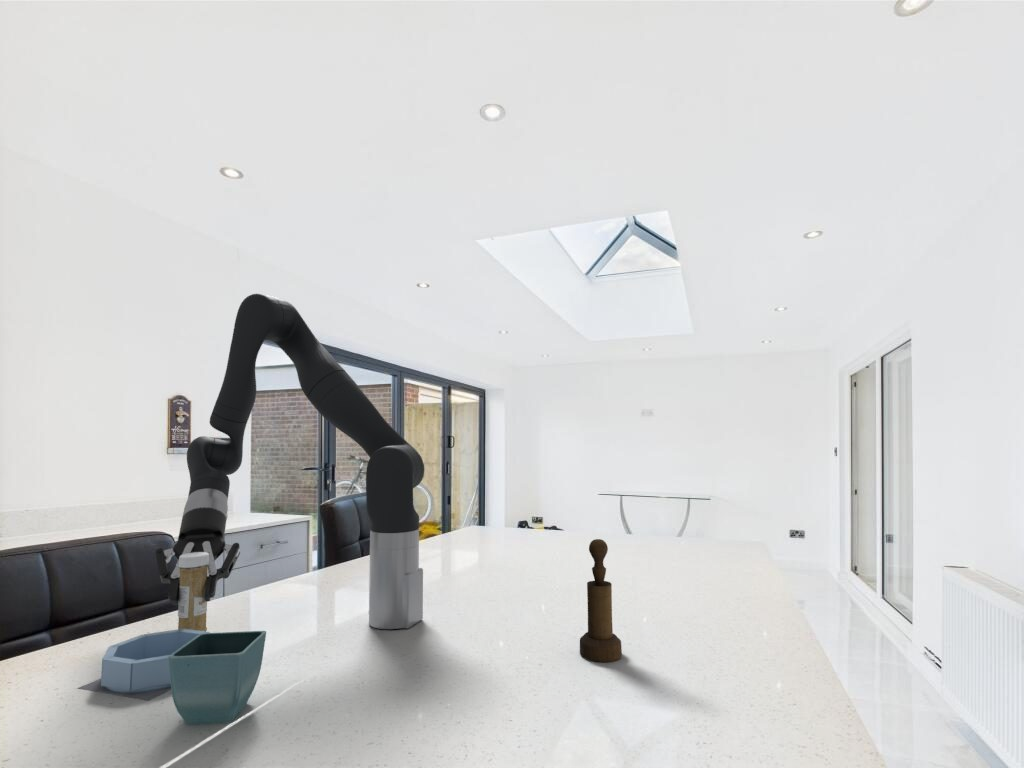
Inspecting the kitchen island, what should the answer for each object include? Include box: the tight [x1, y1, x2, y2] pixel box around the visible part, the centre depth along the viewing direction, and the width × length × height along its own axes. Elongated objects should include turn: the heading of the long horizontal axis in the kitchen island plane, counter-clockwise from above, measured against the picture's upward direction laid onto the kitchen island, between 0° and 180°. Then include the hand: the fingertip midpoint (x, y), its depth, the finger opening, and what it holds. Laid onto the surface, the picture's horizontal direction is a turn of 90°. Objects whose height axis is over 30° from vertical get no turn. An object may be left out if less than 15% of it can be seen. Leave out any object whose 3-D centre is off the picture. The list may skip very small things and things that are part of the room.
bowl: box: [100, 629, 211, 693], centre depth 84 cm, size 13×13×4 cm
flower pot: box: [168, 630, 267, 726], centre depth 72 cm, size 9×9×9 cm
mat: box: [77, 678, 171, 701], centre depth 84 cm, size 13×14×1 cm
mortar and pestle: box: [579, 538, 623, 663], centre depth 92 cm, size 7×6×18 cm
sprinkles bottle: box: [177, 552, 209, 632], centre depth 98 cm, size 5×5×14 cm
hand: (191, 600), depth 97 cm, fingers closed on sprinkles bottle, 4 cm apart
